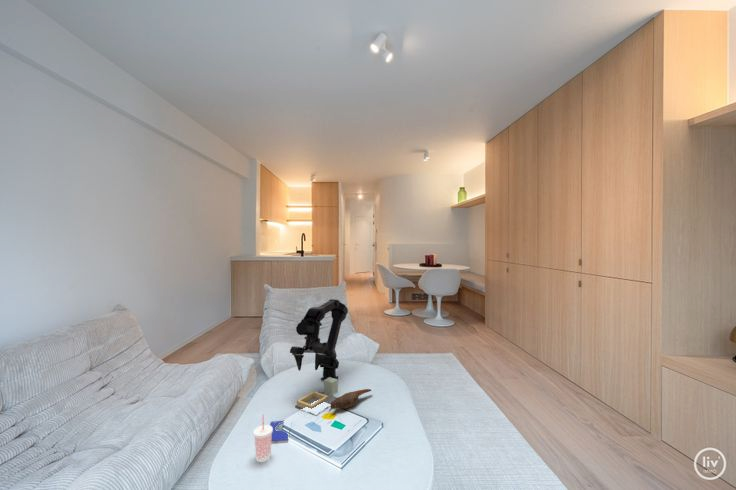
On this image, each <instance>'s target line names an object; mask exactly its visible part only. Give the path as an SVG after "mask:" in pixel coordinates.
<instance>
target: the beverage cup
mask: <svg viewBox="0 0 736 490" xmlns="http://www.w3.org/2000/svg"><path fill="white" fill-rule="evenodd" d="M261 417H262V419H261V422H262V425H259V426H257V427H255V428H254V430H253V438H254V448H255V449H254V450H255V451H254V452H255V460H256V461H257V462H259V463H263V462H266V461H268V460H270V458H271V455H272V454H271V453H272V444H271V438H272V432H273V427H272V426H270V424H265V415H264V414H262V416H261Z"/></svg>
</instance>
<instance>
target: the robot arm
mask: <svg viewBox="0 0 736 490" xmlns="http://www.w3.org/2000/svg"><path fill="white" fill-rule="evenodd" d="M330 312H331V314H330V315H331V318H332V321H331V325H330V329H329V333H328V336H327V341H325V342H321V338H320V337H319V335H320V328H321V326H323V324H322V322H321V321H323V319H325V318H326V317H325V316H326V315H327V314H328V313H330ZM348 313H349V309H348V307H347V306H346V304H344V303H343V302H341V301H340V300H339V299H336V298H335V299H334V298H333V299H332V298H331V299H329V300H327V302H325V303H323V304H321V305H319V306H313V307H310V308H308V310H307V312H306V313H305V315H304V317H303V318H302V319H301V320H300V322H299V323H298V324H296V328H295V331H296V333H297V335H298V336H299V335H300V336H304V340H305V344H304V345H303V346H301V347H300V346H291V347H290V349H289V353H290V354H291V355H292V356H293V357H294V360H295V363H296V366H297V370H298V371H299V372H300V371H301V368H302V363H303V358H305V355H304V353H307V354H312V353H313V354H314V359H315V360H314V370H315V371H318V369H319V367H320V368H323V369H322V377H321V378H320V380H321V381H324V380H325V379H327V378H329V377H331V378H334V379H338V378H339V376H337V375H336V373H337V372H336V370H337V369H338V368H339V365H340V362H339V360H338V359H337V356H338V355H337V352H336V346H337V342H338V339H339V334H340V329H341V325H342V323H343V322H344V320H346V318H347V315H348Z"/></svg>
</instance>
